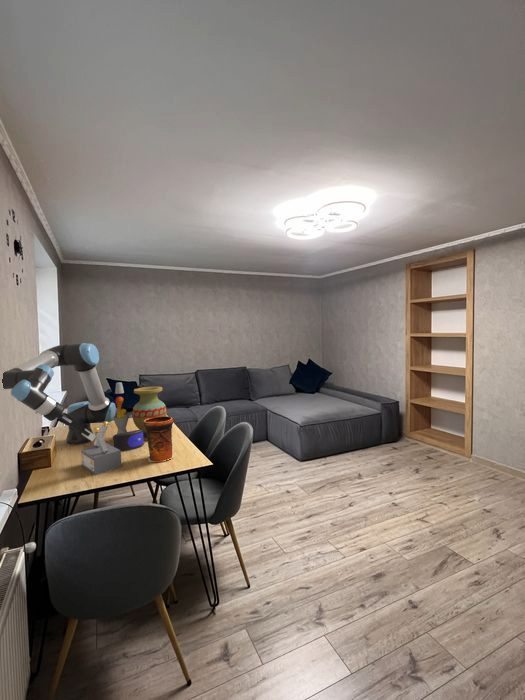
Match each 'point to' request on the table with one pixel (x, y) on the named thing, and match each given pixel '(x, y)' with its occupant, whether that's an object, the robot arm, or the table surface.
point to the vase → (147, 407)
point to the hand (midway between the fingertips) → (93, 438)
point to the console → (101, 459)
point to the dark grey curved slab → (128, 440)
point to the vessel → (159, 438)
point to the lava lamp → (120, 411)
